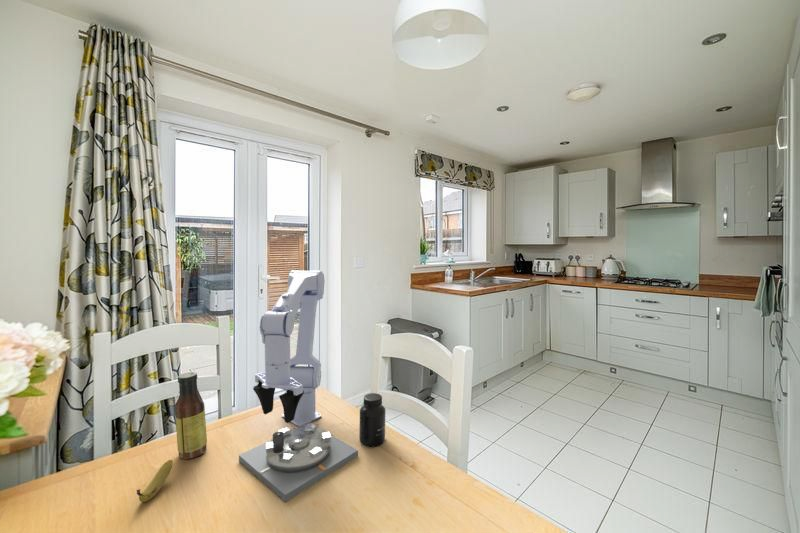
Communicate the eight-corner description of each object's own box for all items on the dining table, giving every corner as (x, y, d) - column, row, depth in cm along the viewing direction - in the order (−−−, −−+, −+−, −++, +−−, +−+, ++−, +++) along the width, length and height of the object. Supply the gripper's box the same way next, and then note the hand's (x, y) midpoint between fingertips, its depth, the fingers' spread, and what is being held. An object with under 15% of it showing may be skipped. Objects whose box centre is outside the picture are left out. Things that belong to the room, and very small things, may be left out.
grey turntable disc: (307, 428, 94) (307, 404, 94) (343, 449, 85) (343, 423, 84) (254, 453, 83) (253, 426, 82) (289, 481, 73) (288, 451, 73)
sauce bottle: (212, 446, 89) (210, 370, 87) (195, 461, 82) (193, 380, 81) (188, 444, 89) (186, 369, 88) (170, 459, 83) (167, 378, 82)
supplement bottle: (384, 448, 88) (384, 403, 88) (357, 448, 89) (357, 402, 88) (385, 433, 95) (386, 391, 94) (361, 433, 95) (361, 390, 95)
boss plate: (239, 461, 83) (238, 454, 83) (309, 427, 98) (309, 421, 98) (285, 502, 70) (285, 494, 70) (358, 455, 85) (358, 449, 85)
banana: (166, 475, 78) (165, 458, 77) (177, 475, 78) (176, 458, 77) (131, 510, 67) (130, 490, 67) (144, 510, 67) (143, 491, 67)
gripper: (243, 360, 83) (244, 415, 84) (285, 372, 75) (286, 433, 76) (268, 352, 89) (269, 404, 90) (309, 363, 81) (309, 419, 82)
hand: (278, 416), depth 83 cm, fingers open, 7 cm apart
